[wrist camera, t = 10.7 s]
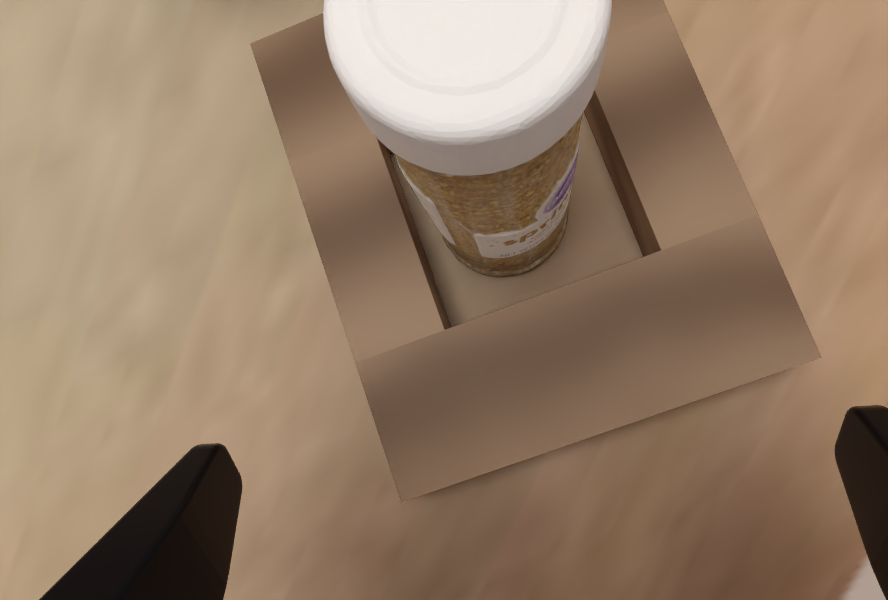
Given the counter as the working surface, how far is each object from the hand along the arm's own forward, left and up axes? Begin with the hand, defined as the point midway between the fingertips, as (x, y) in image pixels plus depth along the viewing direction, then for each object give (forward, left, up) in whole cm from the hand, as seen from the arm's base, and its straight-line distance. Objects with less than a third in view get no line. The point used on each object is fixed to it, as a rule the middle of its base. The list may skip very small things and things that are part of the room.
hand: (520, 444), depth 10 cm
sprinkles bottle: (+7, -2, -13) cm, 15 cm away
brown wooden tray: (+7, -2, -13) cm, 14 cm away
